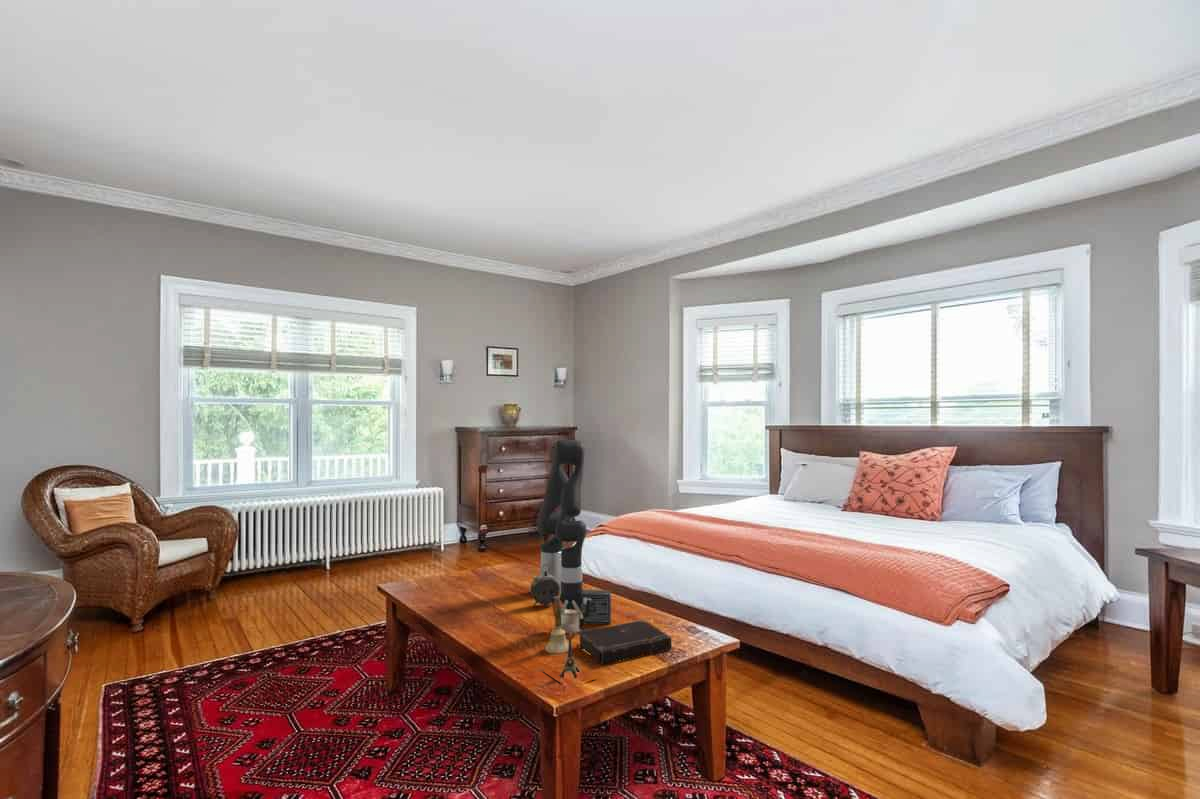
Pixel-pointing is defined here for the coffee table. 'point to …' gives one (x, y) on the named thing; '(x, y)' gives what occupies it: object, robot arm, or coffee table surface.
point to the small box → (598, 606)
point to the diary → (623, 641)
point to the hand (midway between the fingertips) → (571, 628)
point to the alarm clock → (544, 588)
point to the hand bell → (557, 633)
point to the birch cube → (570, 621)
